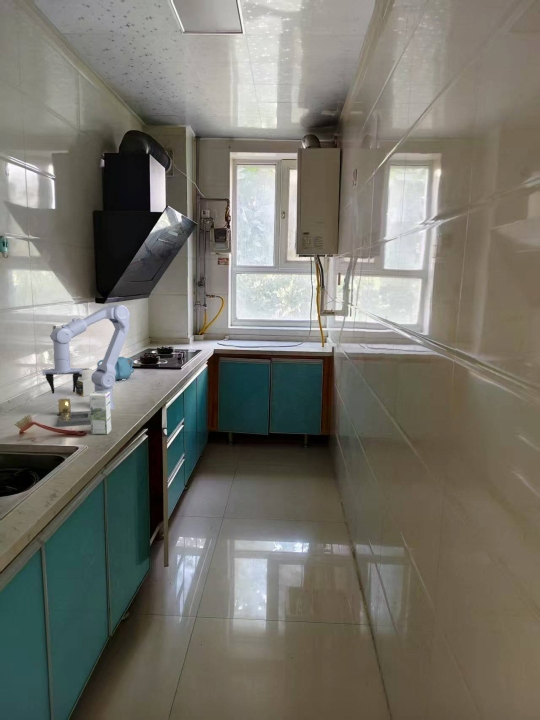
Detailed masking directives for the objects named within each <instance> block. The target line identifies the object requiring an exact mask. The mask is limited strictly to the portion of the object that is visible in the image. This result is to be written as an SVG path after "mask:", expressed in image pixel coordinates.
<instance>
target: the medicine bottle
mask: <svg viewBox="0 0 540 720" xmlns="http://www.w3.org/2000/svg"><path fill="white" fill-rule="evenodd" d="M92 374H93V369H92V368H82V374H80V375H79V378H78V380H77V383H76V388H75V394H76V395H78V396H82V397H89V396H90V394H91V393H93V392H95V384H94V383H93V382H92V379H91V377H92ZM88 395H89V396H88Z"/></svg>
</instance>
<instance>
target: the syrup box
mask: <svg viewBox="0 0 540 720" xmlns="http://www.w3.org/2000/svg"><path fill="white" fill-rule="evenodd" d="M89 409H90V410H89V411H90V414H91V425H90V432H91V435H108V434H109V433H110V432H111V431H112V415H111V410H110V392H93V393H91V394H90V395H89Z"/></svg>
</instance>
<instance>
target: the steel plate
mask: <svg viewBox="0 0 540 720" xmlns="http://www.w3.org/2000/svg"><path fill="white" fill-rule="evenodd" d="M57 423H58V428H62V427H63V428H64V427H77V426H78V427H79V426H91V414H90V410H86V411H85V410H83V411H71V412H64V413H61V416H59V419H58V422H57Z"/></svg>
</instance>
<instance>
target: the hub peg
mask: <svg viewBox="0 0 540 720" xmlns="http://www.w3.org/2000/svg"><path fill="white" fill-rule="evenodd" d="M57 402H58V414H59V415H60V416H61V413H64V412H72V411H71V409H72V408H71V399H70V398H67V397H66V398H65V397H64V398H60V399H58V401H57ZM60 416H59V417H60Z"/></svg>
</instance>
